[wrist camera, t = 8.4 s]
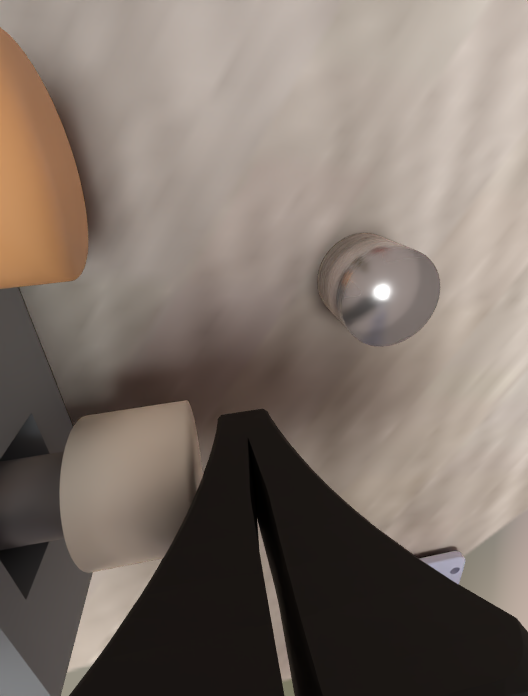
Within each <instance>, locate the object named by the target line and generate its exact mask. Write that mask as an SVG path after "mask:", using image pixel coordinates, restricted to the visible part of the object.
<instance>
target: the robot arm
mask: <svg viewBox="0 0 528 696" xmlns="http://www.w3.org/2000/svg"><path fill="white" fill-rule="evenodd" d="M257 519H258V523H259V527H260V531H261V535H262V538H263V542H264V546H265V550H266V554H267V558H268V562H269V565H270V569H271V573H272V577H273V581H274V585H275V589H276V594H277V598H278V603H279V608H280V613H281V619H282V625H283V631H284V636H285V642H286V648H287V654H288V659H289V665H290V671H291V677H292V683H293V688H294V693H295V696H528V632H527V630H526V629H525V628H524V627H523V626H522V625H521V623H520V622H519V621H518V620H517V619H516V618H515V617H514V616H512V615H510V614H508V613H507V612H505V611H503V610H501V609H500V608H498V607H496V606H495V605H493V604H491V603H489V602H488V601H486V600H484V599H483V598H481V597H479V596H477V595H476V594H474V593H472V592H470V591H469V590H467V589H465V588H464V587H462V586H460V585H459V582H460V579H461V575H462V572H463V568H464V565H465V558H464V557H463V555H462V554H461V552H458V551H452V552H447V553H442V554H438V555H433V556H428V557H424V558H417V557H416V556H415V555H413V554H412V553H410V552H409V551H408V550H406V549H405V548H404V547H402V546H401V545H399V544H398V543H397V542H395V541H394V540H393V539H391V538H390V537H388V536H387V535H386V534H384V533H383V532H382V531H380V530H379V529H377V528H376V527H375V526H374V525H372V524H371V523H370V522H369V521H368V520H366V519H365V518H364V517H363V516H361V515H360V514H359V513H358V512H357V511H355V510H354V509H353V508H352V507H351V506H350V505H349V504H347V503H346V502H345V501H344V500H343V499H342V498H341V497H340V496H338V495H337V494H336V493H335V492H334V491H333V490H332V489H331V488H330V487H329V486H328V485H327V484H326V483H325V482H324V481H323V480H322V479H321V478H320V477H319V476H318V475H317V474H316V473H315V472H314V471H313V470H312V469H311V468H310V467H309V465H308V464H307V463H306V462H305V461H304V460H303V459H302V458H301V456H300V455H299V454H298V453H297V452H296V451H295V449H294V448H293V447H292V446H291V445H290V443H289V442H288V441H287V440H286V438H285V437H284V436H283V434H282V433H281V432H280V430H279V429H278V428H277V426H276V425H275V423H274V422H273V420H272V419H271V417H270V415H269V413H268V412H267V411H266V410H265V409H258V410H251V411H245V412H238V413H232V414H225V415H221V416H220V417H219V419H218V425H217V431H216V436H215V440H214V443H213V447H212V451H211V454H210V457H209V460H208V463H207V465H206V468H205V471H204V474H203V477H202V479H201V482H200V484H199V487H198V489H197V491H196V494H195V496H194V498H193V501H192V503H191V505H190V508H189V510H188V512H187V514H186V516H185V518H184V520H183V522H182V524H181V526H180V528H179V530H178V532H177V534H176V536H175V538H174V540H173V542H172V544H171V545H170V547H169V549H168V551H167V552H166V554H165V556H164V558H163V559H162V561H161V563H160V565H159V566H158V568H157V570H156V572H155V573H154V575H153V577H152V578H151V580H150V581H149V583H148V585H147V586H146V588H145V589H144V591H143V593H142V594H141V596H140V597H139V599H138V600H137V602H136V603H135V605H134V606H133V608H132V609H131V611H130V612H129V614H128V615H127V616H126V618H125V619H124V621H123V622H122V624H121V625H120V627H119V628H118V630H117V631H116V633H115V634H114V636H113V637H112V639H111V640H110V642H109V643H108V644H107V646H106V647H105V649H104V650H103V651H102V653H101V654H100V656H99V657H98V658H97V660H96V661H95V662H94V664H93V665H92V666H91V668H90V669H89V670H88V672H87V673H86V674H85V675H84V677H83V678H82V680H81V681H80V682H79V683H78V685H77V686H76V687H75V689H74V690H73V691H72V693H71V694H70V695H69V696H284V691H283V686H282V679H281V674H280V668H279V663H278V657H277V651H276V646H275V640H274V634H273V629H272V623H271V617H270V611H269V605H268V600H267V594H266V588H265V582H264V577H263V571H262V565H261V559H260V553H259V540H258V525H257Z"/></svg>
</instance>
